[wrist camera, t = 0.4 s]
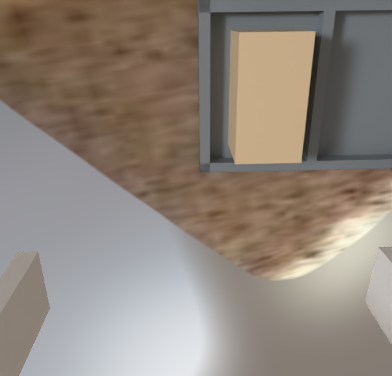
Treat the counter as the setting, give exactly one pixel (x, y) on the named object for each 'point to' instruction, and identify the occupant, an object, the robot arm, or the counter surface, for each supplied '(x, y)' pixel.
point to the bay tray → (331, 82)
